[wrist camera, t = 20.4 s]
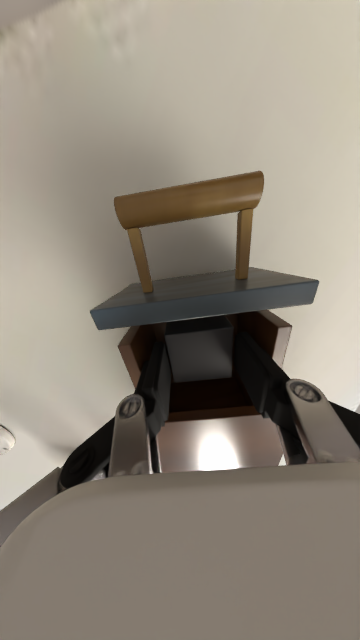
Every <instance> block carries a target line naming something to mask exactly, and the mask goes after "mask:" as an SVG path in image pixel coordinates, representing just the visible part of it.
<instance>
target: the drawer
mask: <svg viewBox="0 0 360 640" xmlns="http://www.w3.org/2000/svg"><path fill="white" fill-rule="evenodd" d="M263 187H264V175H263V173H262V172H261V171H255V172H250V173H244V174H239V175H233V176H228V177H222V178H217V179H211V180H206V181H200V182H195V183H189V184H183V185H178V186H172V187H167V188H161V189H156V190H150V191H145V192H139V193H134V194H128V195H123V196H117V197H115V198H114V206H115V211H116V214H117V217H118V220H119V222H120V224H121V226H122V227H123V228H124V229H125V230H127V231H128V235H129V239H130V243H131V247H132V251H133V255H134V258H135V262H136V266H137V270H138V274H139V278H140V282H141V283H136V284H131V285H129V286H128V287H126V288H125V289H123V290H122V291H120V292H119V293H117V294H115V295H114V296H112V297H111V298H109V299H108V300H106V301H104V302H103V303H101V304H100V305H98V306H97V307H95V308H94V309H92V310H90V313H91V315H92V318H93V320H94V322H95V324H96V326H97V328H98V330H106V329H114V328H122V327H130V326H131V327H130V328H129V330H128V331H127V333H126V334H125V336H124V337H123V339H122V340H121V342H120V343H119V345H118V348H119V351H120V353H121V356H122V358H123V360H124V363H125V365H126V368H127V370H128V372H129V375H130V377H131V380H132V382H133V384H134V387H135V389H136V387H137V384H138V380H139V377H140V374H141V371H142V368H143V365H144V362H145V361H149V360H150V357H151V353H152V350H153V346H154V343H155V342H163V343H165V344H166V342H165V338H164V334H165V329H166V323H167V322H170V321H178V320H186V319H194V318H202V317H210V316H219V315H225V316H226V318H227V319H228V320H229V322H230V323H231V324H232V326H233V327H234V333H233V356H232V377H229V378H218V379H208V380H198V381H188V382H178V383H175V382H174V378H173V374H172V369H171V385H170V400H169V413H172V412H184V411H195V410H207V409H219V408H230V407H242V406H254V405H253V403H252V401H251V399H250V397H249V395H248V392H247V390H246V388H245V386H244V384H243V382H242V380H241V378H240V376H239V374H238V372H237V370H236V368H235V365H234V353H235V336H236V335H238V333H240V332H248V334H249V335H250V336H251V337H252V338H253V339H254V341H255V342H256V343H257V344H258V345H259V346H260V348H262V349H264V350H265V351H266V352H267V353H268V354H269V355H270V357H271V358H272V359H273V360H274V361H275V362H276V363H277V364H278V366H279V367H280V368H282V364H283V360H284V356H285V352H286V348H287V345H288V341H289V337H290V333H291V329H292V325H290V324H289V323H287V322H286V321H284V320H283V319H281V318H279V317H278V316H276V315H275V314H273V313H272V312H270V311H269V310H267V309H275V308H283V307H291V306H299V305H307V304H312V303H313V300H314V297H315V294H316V291H317V287H318V284H319V281H318V280H315V279H310V278H305V277H299V276H294V275H289V274H284V273H279V272H274V271H268V270H263V269H258V268H253V267H249V255H250V242H251V230H252V217H253V209H254V208H256V207H257V205H258V204H259V202H260V199H261V196H262V192H263ZM239 211H240V212H239ZM233 212H239V213H238V219H237V244H236V269H234V270H227V271H220V272H213V273H206V274H199V275H192V276H185V277H178V278H171V279H164V280H157V281H152V279H151V275H150V270H149V266H148V261H147V257H146V252H145V248H144V243H143V239H142V234H141V230H140V229H139V228H143V227H149V226H155V225H161V224H167V223H173V222H179V221H185V220H191V219H197V218H203V217H209V216H215V215H221V214H227V213H233ZM166 349H167V347H166ZM167 353H168V351H167ZM168 358H169V356H168ZM169 362H170V360H169ZM170 367H171V365H170Z"/></svg>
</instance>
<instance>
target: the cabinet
mask: <svg viewBox="0 0 360 640" xmlns="http://www.w3.org/2000/svg"><path fill="white" fill-rule="evenodd" d="M157 438H158V446H159V454H160V461H161V469H162V473H171V472H186V471H201V470H217V469H233V468H250V467H267V466H278V465H279V462H280V460H281V457H282V455H283V450H282V446H281V443H280V439H279V435H278V432H277V428H276V425H275V423H273V422H272V421H271V419H270V418H266V419H263V417H262V415H261V413H258V412H257V411H256V409H255V407H254V406H242V407H230V408H219V409H207V410H195V411H184V412H172V413H169V414H168V420H165V427H161V431H160V432H159V433H158V434H157Z"/></svg>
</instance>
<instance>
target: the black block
mask: <svg viewBox="0 0 360 640" xmlns="http://www.w3.org/2000/svg"><path fill="white" fill-rule="evenodd" d="M233 333H234V327H233V326H232V324H231V323H230V322H229V320H228V319H227V318H226V316H225V315H219V316H210V317H202V318H194V319H186V320H178V321H170V322H167V323H166V329H165V334H164V338H165V342H166V347H167V351H168V356H169V360H170V365H171V369H172V374H173V378H174V382H175V383H178V382H188V381H198V380H208V379H218V378H229V377H232V356H233Z"/></svg>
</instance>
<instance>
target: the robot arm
mask: <svg viewBox="0 0 360 640" xmlns="http://www.w3.org/2000/svg"><path fill="white" fill-rule="evenodd" d="M234 365H235V368H236V370H237V372H238V374H239V376H240V378H241V380H242V382H243V384H244V386H245V388H246V390H247V392H248V395H249V397H250V399H251V401H252V403H253V405H254V407H255V409H256V411H257V412H258V413H261V415H262V417H263V419H266V418H270V419H271V421H272V422H273V423H275V425H276V428H277V432H278V435H279V439H280V443H281V446H282V450H283V454H284V457H285V461H286V465H285V466H267V467H250V468H233V469H217V470H201V471H186V472H171V473H162V469H161V461H160V454H159V446H158V438H157V434H158V433H159V432H160V431H161V427H165V420H168V414H169V400H170V385H171V367H170V362H169V358H168V353H167V349H166V344H165V343H163V342H155V343H154V346H153V350H152V353H151V357H150V360H149V361H145V362H144V365H143V368H142V371H141V374H140V377H139V380H138V384H137V387H136V390H135V393H134V394H131V395H129V396H127V397H125V398H124V399H123V400H122V401H121V402H120V403H119V405H118V407H117V409H116V414H115V417H114V418H112V419H111V420H110V421H109V422H108V423H106V424H105V425H104V426H103V427H102V428H100V429H99V430H98V431H97V432H96V433H94V434H93V435H92V436H91V437H90V438H88V439H87V440H86V441H85V442H84V443H82V444H81V445H80V446H79V447H78V448H76V449H75V450H74V451H73V452H72V453H71V455H70V456H69V457H68V459H67V460H66V462H65V464H64V466H62V467H61V468H59V467H57V468H56V469H54V470H53V471H52V472H51V473H49V474H48V475H47V476H45V477H44V478H43V479H41V480H40V481H39V482H37V483H36V484H35V485H34V486H32V487H31V488H30V489H28V490H27V491H26V492H24V493H23V494H22V495H20V496H19V497H18V498H17V499H15V500H14V501H13V502H11V503H10V504H9V505H7V506H6V507H5V508H4V509H2V510H1V511H0V640H360V414H358V413H356V412H353V411H351V410H349V409H346V408H344V407H342V406H339V405H337V404H335V403H332V402H330V401H328V400H327V398H326V397H325V395H324V394H323V393H322V392H321V390H320V389H319V388H317V387H316V386H315V385H313V384H311V383H309V382H307V381H304V380H301V379H290V378H289V377H288V376H287V375H286V373H285V372H284V371H283V370H282V369H281V368H280V367H279V366H278V364H277V363H276V362H275V361H274V360H273V359H272V358H271V357H270V355H269V354H268V353H267V352H266V351H265V350H264V349H262V348H260V346H259V345H258V344H257V343H256V342H255V341H254V339H253V338H252V337H251V336H250V335H249V334H248V332H240V333H238V335H236V336H235V353H234ZM14 444H15V439H14V437H13V435H12V434H11V433H10V432H9V431H7V430H6V429H4V428H3V427H1V426H0V455H1V454H5V453H7V452H8V451H9V450H10V449H11V448H12V447H13V446H14Z"/></svg>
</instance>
